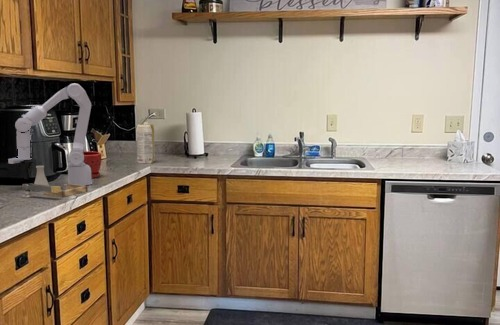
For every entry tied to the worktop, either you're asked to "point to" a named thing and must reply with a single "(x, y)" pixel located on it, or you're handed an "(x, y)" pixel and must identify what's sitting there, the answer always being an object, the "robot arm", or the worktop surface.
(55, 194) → the bay
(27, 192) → the lever post
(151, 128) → the juice carton
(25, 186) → the lever
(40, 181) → the flask
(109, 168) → the worktop surface
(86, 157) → the plant pot
